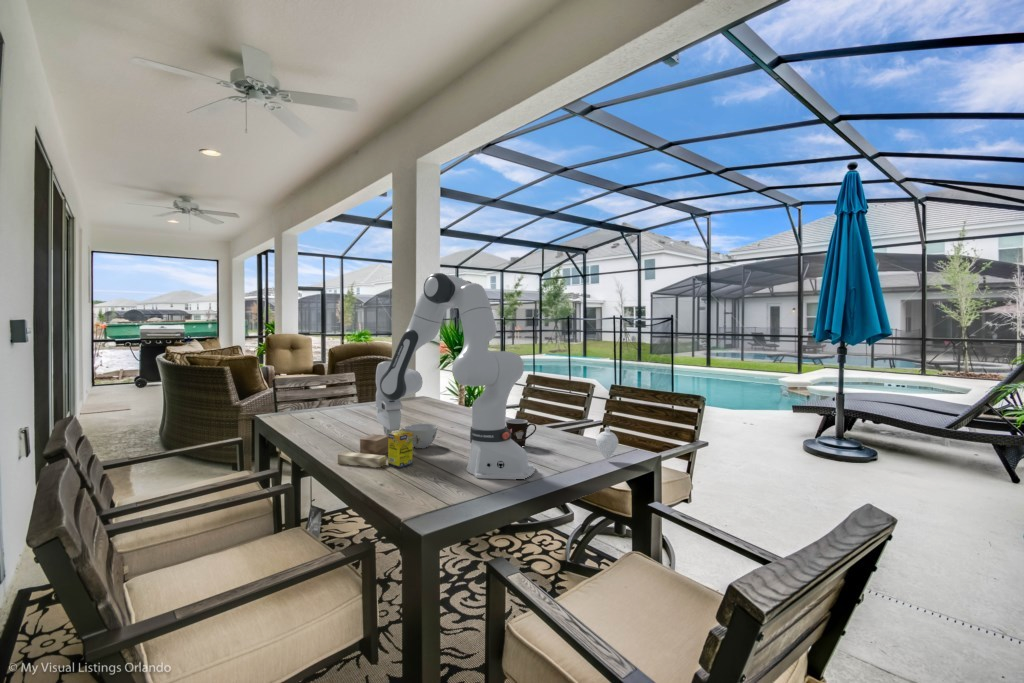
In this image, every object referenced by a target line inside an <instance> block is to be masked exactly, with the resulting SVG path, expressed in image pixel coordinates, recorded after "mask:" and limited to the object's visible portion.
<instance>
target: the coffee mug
mask: <svg viewBox="0 0 1024 683" xmlns="http://www.w3.org/2000/svg"><path fill="white" fill-rule="evenodd" d="M505 426H506V427H507V428H508V429H509V430H510V429H512V432H511V439H512V440H513V441H514V442H516V443H517V444H518V445H519V446H520V447H522V446H525V447H526V442H527V441H526V440H527V439H529V438H530V437H531V436H532V435H534V433H535V432H536V431H537V426H536V424H535V423H532V422H531V423H529V421H528V420H527V419H523V418H510V419H505ZM530 426H534V430H533V432H531V433H530V434H528V435H527V431H528V428H529V427H530Z"/></svg>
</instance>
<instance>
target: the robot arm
mask: <svg viewBox="0 0 1024 683" xmlns="http://www.w3.org/2000/svg"><path fill="white" fill-rule="evenodd" d="M490 302H491V301H490V300H489V297H488V295H487V293H486V290H485V287H483V285H481V284H479V283H476V282H472V281H470V280H465V279H463V278H460V277H459V276H456V275H450V274H445V273H443V272H439V273H438V272H437V273H436V272H435V273H431V274H430V275H428V276H427V278H426V279H425V280H424V283H423V291H422V293H421V294H420V296H419V298H418V300H417V302H416V305H415V306H414V309H413V313H412V315H411V319H410V321H409V324H408V326H407V328H406V330H405V331H404V333H403V334H402V336H401V338H400V340H399V343H398V345H397V347H396V350H395V352H394V354H393V357H392V359H389V360H384V361H381V362H379V363H378V364H377V366H376V368H375V369H376V371H375V386H376V392H375V408H376V421H377V423H379V424H380V425H382V429H383V432H384V434H383V435H386V436H388V434H389V433H393V432H396V431H400V428H401V422H402V421H401V420H402V412H401V410H402V409H403V403H402V402H401V400H400V399H401V398H404V397H407V396H411V395H414V394H416V393H418V392H419V391H420V390H421V389H422V387H423V377H422V375H421V372H419V371H418V370H416V369H412V368H409V367H410V364H411V362H412V360H413V357H414V354H415V353H416V352H417V351H418V350H419V349H420V348H422V347H423V346H425V345H426V344H428V343H429V342H431V341H433V340H434V339H436V336H437V335H438V333H439V332H440V329H441V326H442V323H443V321H444V317H445V314H446V312H447V311H448V309H451V308H452V309H453V310H458V312H459V317H460V321H461V327H462V333H463V334H462V335H463V346H462V350H461V351H460V353H459V354H458V355H457V356H456V358H455V359H454V361H453V363H452V365H451V366H452V367H451V372H452V376H453V378H454V380H455V382H457V384H458V385H461V386H465V387H473V388H474V387H483V386H484V390H483V391H482V393H481V395H480V396H478V397H476V398H475V399H474V401H473V402H472V406H471V426H470V430H469V431H470V432H469V441H470V451H469V458H468V461H467V462H468V463H467V466H466V471H467V472H468V473H470V474H471V475H473V476H474V477H475V478H476V479H489V480H490V479H492V480H500V479H501V480H516V479H524V480H526V479H525V478H527V477H529V476H531V475H532V474H533V473H534V474H535V472H536V467H535V465H534V464H533V463H529V457H528V453H527V451H526V449H524V448H522V447H520V446H519V445H518V444H517V443H516V442H514V441H513V440H512V439H511V432H512V429H510V430H509V429H508V428H507V426H506V416H507V414H506V412H507V403H508V399H509V396H510V394H511V391H512V389H513V388H514V386H515V384H517V382H518V381H520V379H521V378H522V376H523V375H524V374H523V373H524V370H525V365H524V361H523V359H522V357H521V355H519V354H518V353H515V352H511V351H506V350H501V351H500V350H499V351H497V350H496V351H490V350H489V346H488V345H489V342H491V341H492V340H493V339H495V337H496V335H497V329H498V328H497V325H496V320H495V317H494V313H493V309H492V306H491V303H490ZM534 471H535V472H534ZM534 474H533V475H534ZM533 475H532V476H533ZM532 476H531V477H532ZM529 478H530V477H529ZM527 479H528V478H527Z"/></svg>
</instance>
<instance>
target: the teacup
mask: <svg viewBox="0 0 1024 683" xmlns="http://www.w3.org/2000/svg"><path fill="white" fill-rule="evenodd" d="M438 429H439V428H438V426H437V425H435V424H433V423H432V424H431V423H416V424H411V425H406V426H405V427H404V428H401V429H399V431H406V432H410V433H413V448H414V447H415V449H418V448H422V449H426V447H427V448H429V447H430V446H431V444H433V442H434V440H435V438H436V436H437V433H438Z"/></svg>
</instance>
